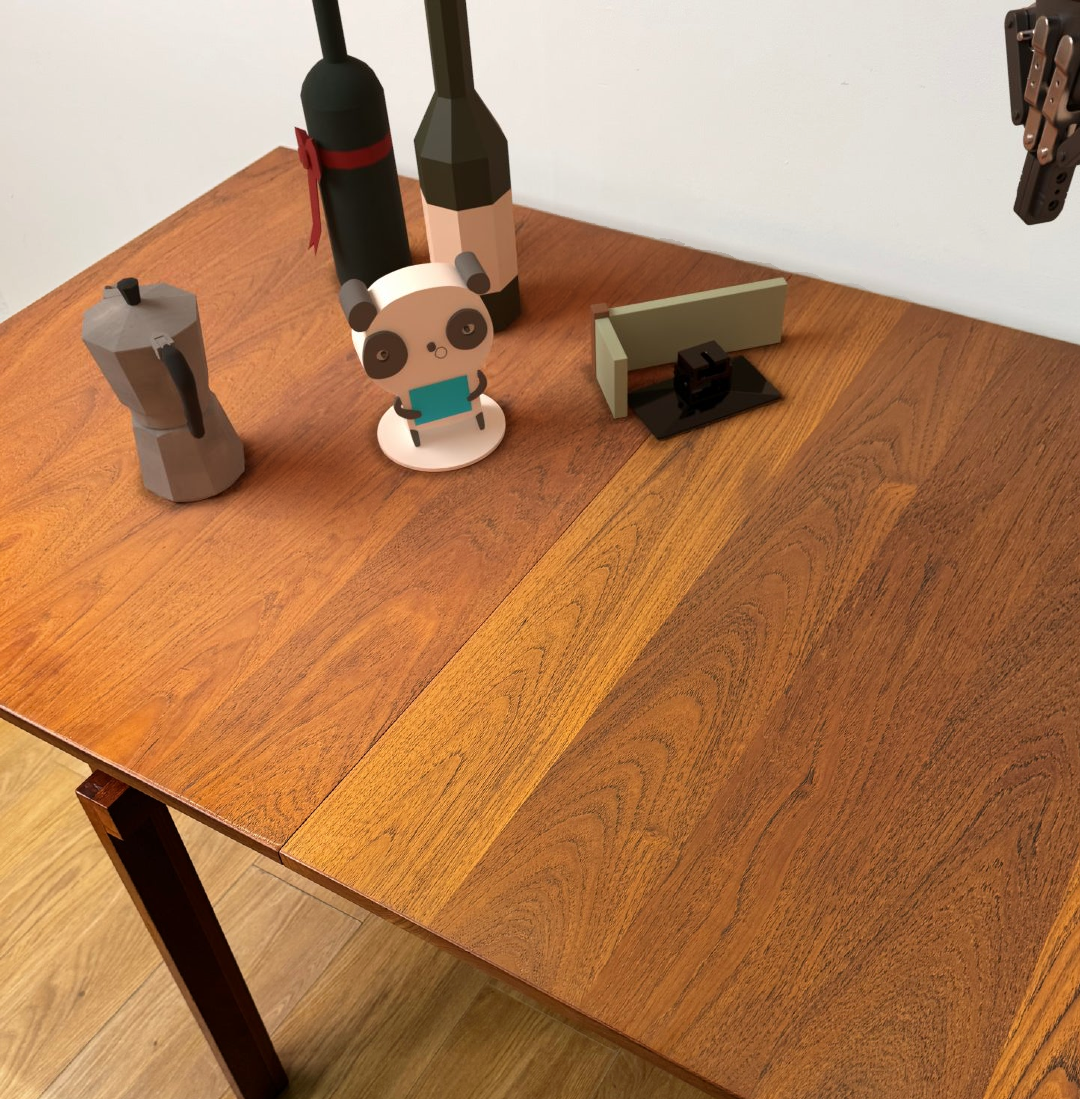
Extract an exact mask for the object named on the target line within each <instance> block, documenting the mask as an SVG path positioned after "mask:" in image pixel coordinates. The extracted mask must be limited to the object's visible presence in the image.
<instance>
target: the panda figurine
mask: <svg viewBox="0 0 1080 1099" xmlns="http://www.w3.org/2000/svg"><path fill="white" fill-rule="evenodd" d="M455 266H456V267H455ZM455 266H452V265H449V264H445V263H431V262H428V263H427V262H426V263H421V264H415V265H413V266H409V267H406V268H402V269H400V270H397V271H394V272H392V273H390V274H388V275H385V276H384V277H382V278H380V279H379V280H377V281H376V282H375V283H373V284H372V285H371V286H370V287H369V289H368V290H367V287H366V285H365V284H364V283H363V282H362V281H360V280H357V279H351V280H349V281H347V282H346V283H344V284H343V286H340V289H339V292H338V302H339V305H340V307H341V309H342V311H343V314H344V316H345V319H346V321H347V323H348V326H349V327H350V329H351V339H352V344H353V347H354V349H355V351H356V354H357V356H358V359H359V361H360V363H361V366H362V368H363V370H364V373H365V375H366V376H367V377H368V379H369V380H370V381H371V382H372V383H373V384H374V385H375V386H376V387H378V388H379V389H381V390H382V391H384V392H386V393H389V394H390V395H393V396H396V397H395V398H394V401H393V405H392V406H390V407H389V408H388V409H387V410H386V411H385V413H384V414H383V415H382V417H381V418H380V420H379V422H378V426H377V432H376V434H377V435H376V436H377V441H378V444H379V447H380V449H381V451H382V452H383V453H384V455H385V456H386V457H387V458H388V459H390V461H392V462H394V463H395V464H397V465H399V466H402V467H405V468H406V469H410V470H415V471H420V472H428V473H430V472H432V473H433V472H434V473H437V472H449V471H455V470H459V469H462V468H466V467H468V466H471V465H473V464H475V463H478V462H480V461H481V460H483V459H485V458H486V457H488V456H489V455H490V454H492V453H493V452H494V451H495V450H496V449H497V448H498V446H500V444H501V442H502V440H503V439H504V436H505V433H506V427H507V426H506V417H505V413H504V411H503V409H502V408H501V406H500V405H499V404H498V403H497V402H496V401H495V400H494V399H493V398H491V397H490V396H488V395H486V394H484V392H485V390H486V389H487V387H488V379H487V376H486V375H485V373H484V372H483V371H482V370H481V367H483V365H484V364H485V362H486V360H488V357H489V355H490V353H491V350H492V346H493V343H494V342H493V341H494V333H493V325H492V321H491V318H490V315H489V313H488V311H487V308H486V307H485V305H484V303H483V301H482V299H481V298H480V296H479V295H480V294H485V293H487V292H488V291H489V290H490V280H489V278H488V276H487V274H486V272H485V271H484V269H483V267H482V266H481V264H480V262H479V261H478V259H477V257H476V255H475V254H474V253H473V252H470V251H467V252H462V253H460V254H458V255H457V256H456V258H455Z"/></svg>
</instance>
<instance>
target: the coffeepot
mask: <svg viewBox="0 0 1080 1099" xmlns="http://www.w3.org/2000/svg"><path fill="white" fill-rule="evenodd" d="M197 297H198V296H197V294H195V293H193V292H190V291H188V290H184V289H182V288H181V287H180V288H179V287H177V286H175V285H172V284H169V283H166V282H165V281H163V282H157V283H151V284H143V285H140V284H139V279H138V278H135V277H132V276H131V277H123V278H122V279H121V280H118V281H116V282H115V283H114V284H113V285H112V286H111V285H105V286H103V288H102V299H101V300H99V301H98V302H97V303H95V304H94V305H93V306H91V307H89V308H88V309H86V310H84V311H83V315H82V316H83V317H82V327H81V336H80V339H81V341H82V342H83V344H84V345H85V347H86V349H87V350H88V352H89V354H90V355H91V356H92V358H93V360H94V361H95V364H96V365H97V367H98V368H99V370H100V371H101V373H102V375H103V376H104V378H105V379H106V381H107V383H108V385H109V386H110V388H111V389H112V391H113V392H114V395H115V396H116V397H117V399H118V401H119V402H120V404H121V405H123V406H125V407H126V408H128V409H129V412H130V414H131V426H132V431H133V436H134V442H135V446H136V451H137V456H138V461H139V467H140V472H141V476H142V481H143V486H144V489H146V490H148V491H149V492H151V493H153V494H154V495H156V496H157V497H159V498H161V499H163V500H167V501H170V502H175V503H190V502H197V501H201V500H206V499H209V498H212V497H214V496H217V495H218V494H220V493H223V492H224V491H226V490H227V489H228V488H230V487H232V485H234V484H235V483H236V481H238V480H239V478H240V477H241V475H242V474H243V473H244V472H245V468H246V467H245V464H246V463H245V462H246V460H245V451H244V449H245V448H244V447H245V446H244V444H243V442H242V441H241V440H242V439H241V438H240V437H239V435H238V433H237V431H236V429H235V427H234V425H233V424H232V422H231V420H230V418H229V417H228V414H227V413H226V412H225V410H224V408H223V406H222V404H221V402H220V400H219V398H218V397H217V395H216V393H215V392H214V391H212V390H211V389H210V386H209V383H210V381H209V380H210V378H209V368H208V360H207V355H206V348H205V341H204V335H203V330H202V324H201V317H200V311H199V305H198V298H197Z"/></svg>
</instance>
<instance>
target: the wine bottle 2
mask: <svg viewBox="0 0 1080 1099" xmlns="http://www.w3.org/2000/svg"><path fill="white" fill-rule="evenodd" d="M423 4H424V12H425V20H426V28H427V38H428V44H429V45H428V46H429V53H430V61H431V69H432V78H433V86H434V92H433V94H432V96H431V99H430V101H429V103H428V105H427V108H426V110H425V112H424V115H423V117H422V119H421V122H420V124H419V126H418V129H417V131H416V132H415V136H414V138H413V146H414V153H415V154H414V155H415V161H416V168H417V174H418V183H419V189H420V195H421V203H422V209H423V217H424V224H425V232H426V239H427V245H428V251H429V252H428V253H429V259H430V260H429V261H430V263H445V264H449V265H452V266H455V258H456V256H457V255H458V254H460V253H462V252H467V251H470V252H473V253H474V254H475V255H476V257H477V259H478V261H479V262H480V264H481V266H482V267H483V269H484V271H485V272H486V274H487V276H488V278H489V280H490V290H489V291H488V292H487V293H485V294H480V295H479V296H480V298H481V299H482V301H483V303H484V305H485V307H486V308H487V311H488V313H489V315H490V318H491V321H492V325H493V334H494V333H498V332H504V331H505V330H506V329H507V328H508V327H509V326H511V324H512V323H513V322H515V321H516V319H517V318H518V317H519V316H520V315H521V314H522V307H521V295H520V294H521V293H520V280H519V266H518V255H517V244H516V243H517V242H516V241H517V240H516V229H515V217H514V204H513V192H512V191H513V190H512V179H511V164H510V153H509V141H508V138H507V136H506V135H505V133H504V131H503V129H502V127H501V125H500V124H499V122H498V121H497V119H496V118H495V116H494V115H493V114H492V112H491V110H490V109H489V107H488V106H487V105H486V103H485V102H484V100H483V98H482V97H481V95H480V94H479V93H478V92H477V89H476V88H475V79H474V69H473V59H472V58H473V57H472V48H471V37H470V27H469V26H470V25H469V17H468V7H467V0H423ZM455 267H456V266H455Z"/></svg>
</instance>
